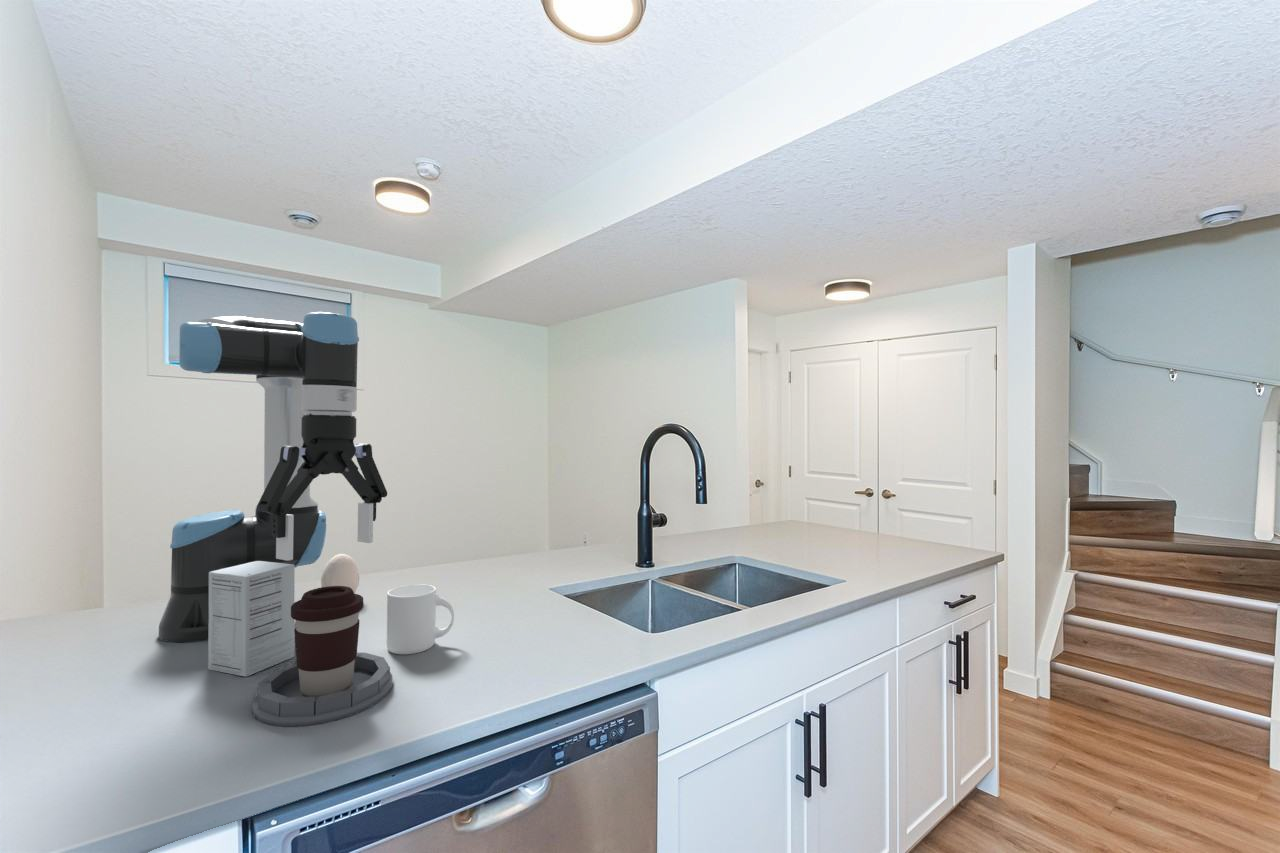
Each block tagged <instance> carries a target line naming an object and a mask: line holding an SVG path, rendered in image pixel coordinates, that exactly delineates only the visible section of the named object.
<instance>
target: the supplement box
mask: <svg viewBox="0 0 1280 853" xmlns="http://www.w3.org/2000/svg"><path fill="white" fill-rule="evenodd" d="M295 568H296V567H295V565H294V564H285V563H275V562H266V561H254V562H249V563H245V564H241V565H237V566H233V567H228V568H224V569H219V570H215V571H211V572H209V628H208V639H207V640H208V645H207V646H208V651H207V655H208V657H207V662H208V663H207V664H208V665H207V667H208V670H210V671H214V672H221V673H225V674H229V675H235V676H241V677H245V678H246V677H249V676H251V675H253V674H256V673H259V672H261V671H264V670H266V669H268V668H272V667H273V666H276V665H278V664H281V663H282V662H283V663H284V662H285V661H287V660H290V659H293V658H294V657H295V632H294V630H295V620H294V619H293V618H292V617H291V606H292V605H293V604H294V603H295V575H296V574H295Z"/></svg>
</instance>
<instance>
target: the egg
mask: <svg viewBox="0 0 1280 853" xmlns="http://www.w3.org/2000/svg"><path fill="white" fill-rule="evenodd" d="M321 573H322V574H321V579H320V581H321V582H320V584H321V587H328V586H346V587H350V588H352V590H353V592H354V594H356V592H357V590H358V587H359V585H360V572H359V568H358V565H357V563H356V561H355V560H354V559H353V558H352V557H351V556H350V555H348V554H345V553H338V554H336V555H334V556H333V557H332V558H330V559H329V560H328V561H327V563H326V565H325V566H324V569H323V570H322V572H321ZM321 587H320V588H321Z"/></svg>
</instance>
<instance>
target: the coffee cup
mask: <svg viewBox="0 0 1280 853" xmlns="http://www.w3.org/2000/svg"><path fill="white" fill-rule="evenodd" d="M363 608H364V597H363V596H362V595H360V594H358V593H354V592H353V590H352V588H350V587H346V586H328V587H317V588H314V589H310V590H308V591H306V592H304V593H303V594H302V597H301V598H300V599H299V600H297V601H294V604H293V605H292V606H291V617H292V618H293V619H294V622H295V626H294V648H295V658H296V661H295V662H297V667H298V668H299V682H300V691H301V693H302V694H303V695H305V696H308V697H318V696H323V695H327V694H331V693H336V692H340V691H343V690H345V689H347V688H348V687H349V686H350V685H351V684H352V682H353V675H354V664H355V658H356V656H357V653H358V645H359V633H360V632H359V631H360V619H359V616H360V615H359V614H360V612H361V611H362V610H363Z"/></svg>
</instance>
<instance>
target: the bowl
mask: <svg viewBox="0 0 1280 853" xmlns="http://www.w3.org/2000/svg"><path fill="white" fill-rule="evenodd" d="M390 668H391V667H390V665H389V663H388V661H387V660H386V659H385V657H383V656H379V655H377V654H376V655H375V654H372V653H368V652H357V656H356V658H355V664H354V675H353V682H352V684H351V685H350V686H349V687H348V688H347V689H345V690H343V691H340V692H336V693H331V694H327V695H323V696H318V697H308V696H305V695H303V694H302V693H301V691H300V682H299V668H298V667H297V662H296V661H295V662H293V663H290V664H288V665H285V666H282V667H280V668H277V669H275V670H273V671H272V672H270V674H268V675H267V676H266V677H264V678H263V679H262V680H260V681H259V682H258V683H257V694H256V695H255V696H254V698H253V700H252V707H251V711H252V715H253V717H254V718H255V719H257V721H258V722H261V723H263V724H267V725H270V726H277V727H285V728H286V727H292V728H293V727H307V726H315V725H321V724H326V723H330V722H335V721H338V720H341V719H345V718H348V717H351V716H353V715H356V714H359V713H361V712H363V711H366V710H368V709H370V708H371V707H373V706H375V705H376V704H378V703H379V702H381V701H382V700H384V699H385V698H386V697H387V696H388V694H390V692H391V691H392V689H393V674H392V672H391V669H390Z"/></svg>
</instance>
